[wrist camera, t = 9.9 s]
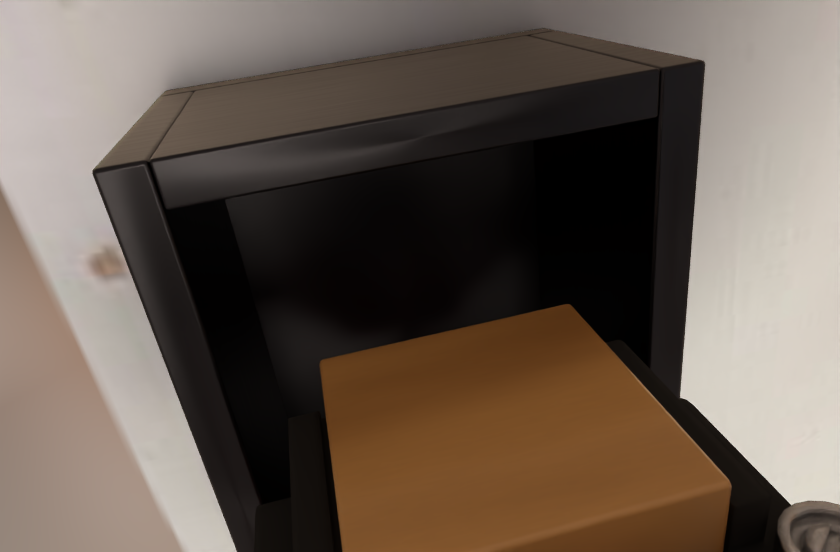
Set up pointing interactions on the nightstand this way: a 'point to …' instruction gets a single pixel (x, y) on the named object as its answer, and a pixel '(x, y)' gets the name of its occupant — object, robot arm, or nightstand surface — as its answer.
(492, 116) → the black storage box
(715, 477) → the block
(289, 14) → the nightstand surface
